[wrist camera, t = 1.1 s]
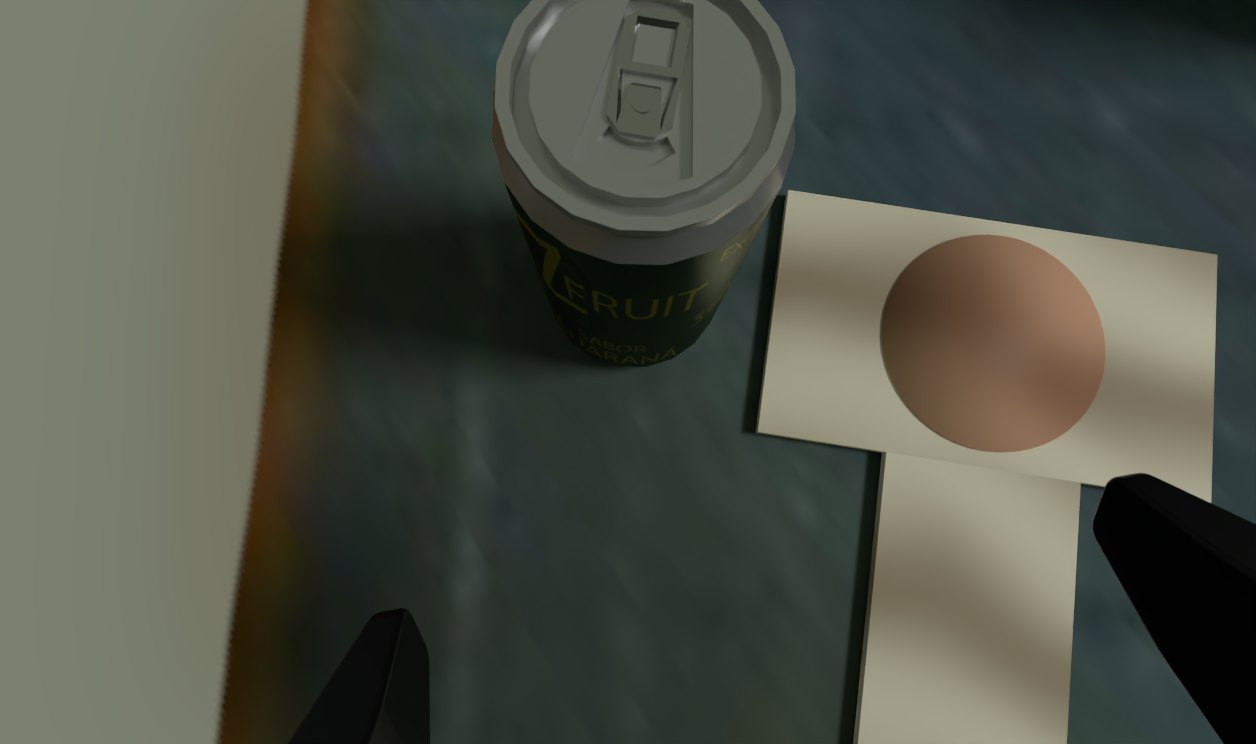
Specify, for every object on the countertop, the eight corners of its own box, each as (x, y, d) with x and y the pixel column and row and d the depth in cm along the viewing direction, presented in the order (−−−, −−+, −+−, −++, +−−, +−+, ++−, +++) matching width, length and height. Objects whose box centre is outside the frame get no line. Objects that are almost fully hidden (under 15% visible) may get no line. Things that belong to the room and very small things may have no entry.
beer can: (567, 198, 24) (515, -84, 12) (727, 225, 24) (831, -32, 12) (535, 355, 23) (447, 214, 11) (701, 384, 23) (786, 273, 11)
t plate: (1191, 849, 21) (1205, 858, 21) (712, 771, 21) (714, 778, 21) (1207, 258, 24) (1219, 253, 24) (785, 194, 24) (789, 189, 24)
